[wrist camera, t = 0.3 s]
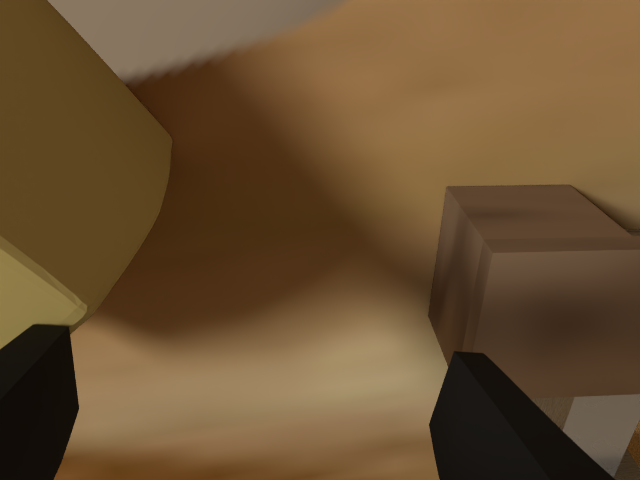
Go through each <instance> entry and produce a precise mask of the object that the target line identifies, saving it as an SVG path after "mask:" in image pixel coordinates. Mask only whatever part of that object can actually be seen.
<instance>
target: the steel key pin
mask: <svg viewBox="0 0 640 480" xmlns="http://www.w3.org/2000/svg"><path fill="white" fill-rule="evenodd" d="M624 230H625V231H627V232H628V233H629V234H630V235H632V236H640V229H624ZM531 400H532V401H533V402H534V403H535V404H536V405H537V406H538V407H539V408H540V409H541V410H542V411H543V412H544V413H545V414H546V415H547V416H548V417H549V418H550V419H551V420H552V421H553V422H554V423H555V424H556V425H557V426H558V427H559V428H560V429H561V430H562V431H563V432H564V433H565V434H566V435H567V436H568V437H570V438H571V439H572V440H573V441H574V442H575V443H576V444H577V445H578V446H579V447H580V448H581V449H582V450H583V451H584V452H585V453H587V454H588V455H589V456H590V457H591V458H592V459H593V460H594V461H595V462H596V463H597V464H599V465H600V466H601V467H602V468H603V469H604V470H605V471H606V472H608V473H609V474H610V475H611V476H612V477H613V478H614V479H615V480H640V468H639V466H638V465H637V463H636V462H635V460H634V459H633V458H632V456H631V455H630V453H629V452H628V450H627V446H628V444H629V442H630V440H631V437H632V435H633V433H634V431H635V429H636V426H637V424H638V422H639V420H640V394H633V395H609V396H585V397H561V398H537V399H531Z"/></svg>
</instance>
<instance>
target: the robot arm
mask: <svg viewBox="0 0 640 480" xmlns="http://www.w3.org/2000/svg"><path fill="white" fill-rule="evenodd" d="M78 410H79V404H78V396H77V388H76V379H75V371H74V363H73V355H72V347H71V339H70V330H69V326H53V325H37V324H33V325H32V326H30V327H29V328H28V329H26V330H25V331H23V332H22V333H21V334H20V335H18V336H17V337H16V338H14V339H13V340H12V341H10V342H9V343H8V344H6V345H5V346H4V347H3V348H1V349H0V480H53V479H54V477H55V475H56V473H57V471H58V468H59V466H60V464H61V461H62V459H63V456H64V453H65V450H66V447H67V444H68V441H69V438H70V435H71V432H72V429H73V426H74V423H75V420H76V417H77V413H78ZM429 427H430V432H431V438H432V444H433V450H434V455H435V460H436V465H437V470H438V475H439V478H440V480H615V479H614V478H613V477H612V476H611V475H610V474H609V473H608V472H606V471H605V470H604V469H603V468H602V467H601V466H600V465H599V464H597V463H596V462H595V461H594V460H593V459H592V458H591V457H590V456H589V455H588V454H587V453H585V452H584V451H583V450H582V449H581V448H580V447H579V446H578V445H577V444H576V443H575V442H574V441H573V440H572V439H571V438H570V437H568V436H567V435H566V434H565V433H564V432H563V431H562V430H561V429H560V428H559V427H558V426H557V425H556V424H555V423H554V422H553V421H552V420H551V419H550V418H549V417H548V416H547V415H546V414H545V413H544V412H543V411H542V410H541V409H540V408H539V407H538V406H537V405H536V404H535V403H534V402H533V401H532V400H531V399H530V398H529V397H528V396H527V395H526V394H525V393H524V392H523V391H522V390H521V389H520V388H519V387H518V386H517V385H516V384H515V383H514V382H513V381H512V380H511V379H510V378H509V377H508V376H507V375H506V374H505V373H504V372H503V371H502V370H501V369H500V368H499V367H498V366H497V365H496V364H495V363H494V362H493V361H492V360H491V359H489V358H488V357H487V356H486V355H485V354H484V353H476V352H460V351H454V352H453V355H452V358H451V361H450V364H449V367H448V370H447V373H446V376H445V379H444V382H443V385H442V388H441V391H440V394H439V397H438V400H437V403H436V406H435V409H434V411H433V414H432V417H431V420H430V423H429Z"/></svg>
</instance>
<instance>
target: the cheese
mask: <svg viewBox="0 0 640 480" xmlns="http://www.w3.org/2000/svg"><path fill="white" fill-rule="evenodd" d="M172 145H173V140H172V138H171V136H170V135H169V134H168V133H167V131H166V130H165V129H164V128H163V127H162V126H161V125H160V123H159V122H158V121H157V120H156V119H155V118H154V117H153V116H152V115H151V113H150V112H149V111H148V110H147V109H146V108H145V107H144V106H143V105H142V103H141V102H140V101H139V100H138V99H137V98H136V97H135V96H134V94H133V93H132V92H131V91H130V90H129V89H128V88H127V87H126V85H125V84H124V83H123V82H122V81H121V80H120V79H119V78H118V76H117V75H116V74H115V73H114V72H113V71H112V70H111V69H110V68H109V66H108V65H107V64H106V63H105V62H104V61H103V60H102V59H101V58H100V57H99V55H98V54H96V52H95V51H94V50H93V49H92V48H91V47H90V46H89V45H88V43H87V42H86V41H84V39H83V38H82V37H81V36H80V35H79V34H78V33H77V32H76V30H75V29H74V28H73V27H72V26H71V25H70V24H69V23H68V22H67V21H66V20H65V19H64V18H63V17H62V16H61V15H60V13H59V12H58V11H57V10H56V9H55V8H54V7H53V6H52V5H51V4H50V3H49V2H48V1H47V0H0V349H1V348H3V347H4V346H5V345H6V344H8V343H9V342H10V341H12V340H13V339H14V338H16V337H17V336H18V335H20V334H21V333H22V332H23V331H25V330H26V329H28V328H29V327H30V326H32V325H33V324H37V325H53V326H69V330H70V334H71V333H72V332H74V331H75V330H76V329H77V328H78V327H79V326H80V325H82V324H83V323H84V322H85V321H86V320H87V319H88V318H89V317H90V316H91V315H92V314H93V313H94V312H95V311H96V310H97V309H98V308H99V306H100V305H101V303H102V302H103V301H104V299H105V298H106V296H107V295H108V293H109V292H110V290H111V289H112V287H113V286H114V285H115V283H116V282H117V281H118V279H119V278H120V276H121V275H122V274H123V272H124V271H125V269H126V268H127V266H128V265H129V263H130V262H131V260H132V259H133V257H134V256H135V254H136V253H137V251H138V250H139V248H140V247H141V245H142V243H143V242H144V240H145V239H146V237H147V235H148V233H149V232H150V230H151V228H152V227H153V225H154V223H155V221H156V219H157V217H158V215H159V213H160V209H161V206H162V203H163V199H164V195H165V192H166V188H167V185H168V180H169V174H170V164H171V149H172Z"/></svg>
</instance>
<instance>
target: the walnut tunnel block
mask: <svg viewBox="0 0 640 480" xmlns="http://www.w3.org/2000/svg"><path fill="white" fill-rule="evenodd" d="M428 317H429V319H430V322H431V324H432V327H433V329H434V332H435V334H436V337H437V339H438V342H439V344H440V347H441V349H442V352H443V354H444V357H445V359H446V362H447V364H448V367H449V364H450V361H451V358H452V355H453V352H454V351H460V352H476V353H484V354H485V355H486V356H487V357H488V358H489V359H491V360H492V361H493V362H494V363H495V364H496V365H497V366H498V367H499V368H500V369H501V370H502V371H503V372H504V373H505V374H506V375H507V376H508V377H509V378H510V379H511V380H512V381H513V382H514V383H515V384H516V385H517V386H518V387H519V388H520V389H521V390H522V391H523V392H524V393H525V394H526V395H527V396H528V397H529V398H530V399H537V398H561V397H585V396H609V395H633V394H640V236H632V235H630V234H629V233H628V232H627V231H625V230H624V229H623V228H622V227H620V226H619V225H618V224H617V223H616V222H614V221H613V220H612V219H611V218H609V217H608V216H607V215H606V214H605V213H603V212H602V211H601V210H600V209H598V208H597V207H596V206H595V205H594V204H592V203H591V202H590V201H589V200H587V199H586V198H585V197H584V196H583V195H581V194H580V193H579V192H578V191H576V190H575V189H574V188H573V187H572V186H570V185H524V186H459V187H447V188H446V195H445V202H444V209H443V216H442V223H441V230H440V237H439V244H438V251H437V258H436V265H435V272H434V279H433V286H432V293H431V300H430V307H429V314H428Z"/></svg>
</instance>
